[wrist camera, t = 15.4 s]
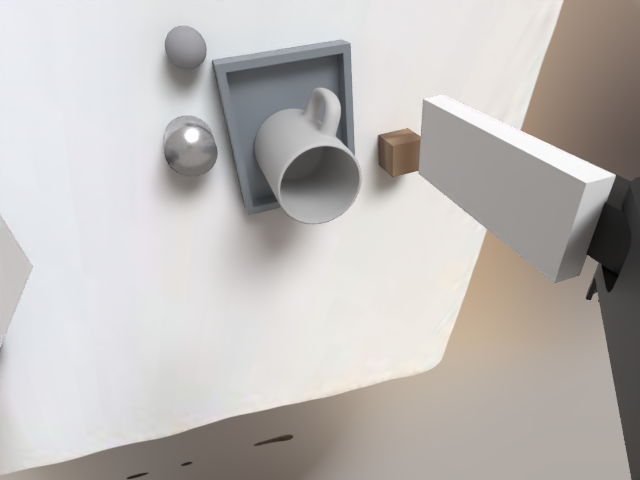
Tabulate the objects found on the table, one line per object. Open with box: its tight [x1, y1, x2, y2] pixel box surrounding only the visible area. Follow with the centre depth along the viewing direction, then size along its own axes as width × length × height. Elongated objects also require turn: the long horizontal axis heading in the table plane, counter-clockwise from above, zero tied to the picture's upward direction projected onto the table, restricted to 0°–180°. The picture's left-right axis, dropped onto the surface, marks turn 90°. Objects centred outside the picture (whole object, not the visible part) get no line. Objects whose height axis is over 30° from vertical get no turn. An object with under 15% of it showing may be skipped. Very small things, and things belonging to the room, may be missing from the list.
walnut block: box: [378, 128, 421, 177], centre depth 51 cm, size 4×4×4 cm
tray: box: [212, 40, 355, 215], centre depth 46 cm, size 14×17×2 cm
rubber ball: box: [165, 26, 206, 69], centre depth 38 cm, size 4×4×4 cm
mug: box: [254, 88, 361, 224], centre depth 42 cm, size 12×8×11 cm
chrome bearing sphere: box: [164, 116, 217, 176], centre depth 43 cm, size 5×5×4 cm
